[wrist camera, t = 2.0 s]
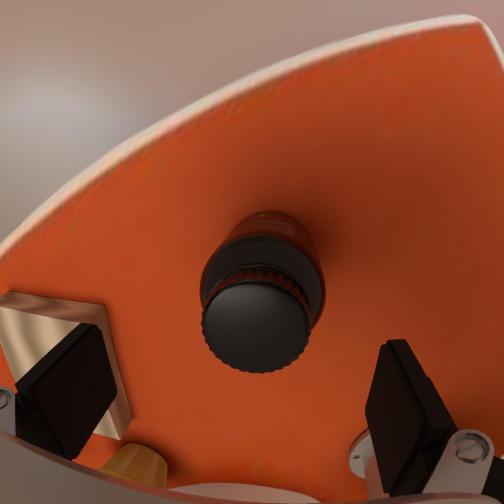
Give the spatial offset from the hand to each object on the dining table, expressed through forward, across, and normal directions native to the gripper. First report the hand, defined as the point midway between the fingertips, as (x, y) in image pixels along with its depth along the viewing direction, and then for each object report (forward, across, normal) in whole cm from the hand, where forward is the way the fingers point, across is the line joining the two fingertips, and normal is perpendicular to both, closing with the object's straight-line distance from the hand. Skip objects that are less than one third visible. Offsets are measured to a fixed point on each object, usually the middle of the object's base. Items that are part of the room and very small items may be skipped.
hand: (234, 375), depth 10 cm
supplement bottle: (+16, 0, +1) cm, 16 cm away
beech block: (+16, +22, +14) cm, 31 cm away
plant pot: (+16, +16, +30) cm, 37 cm away
